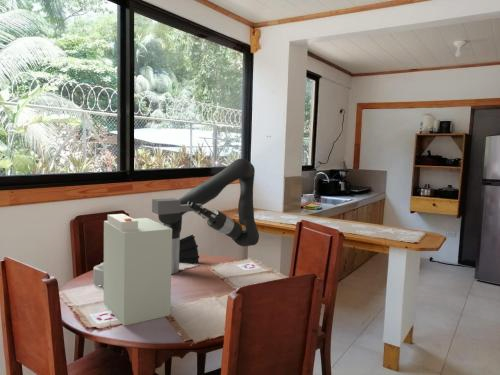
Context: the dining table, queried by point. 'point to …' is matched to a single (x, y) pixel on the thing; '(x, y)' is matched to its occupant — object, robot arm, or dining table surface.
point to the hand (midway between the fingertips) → (189, 204)
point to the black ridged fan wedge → (188, 250)
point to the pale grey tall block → (137, 268)
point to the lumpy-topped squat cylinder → (98, 274)
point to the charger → (170, 206)
